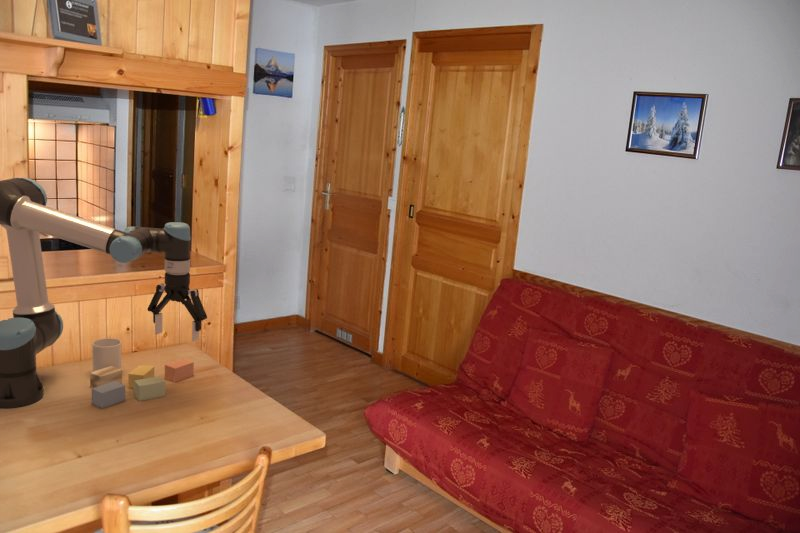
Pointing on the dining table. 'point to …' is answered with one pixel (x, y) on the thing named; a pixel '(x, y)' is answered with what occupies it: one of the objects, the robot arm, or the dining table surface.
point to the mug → (106, 353)
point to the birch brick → (105, 376)
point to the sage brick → (149, 388)
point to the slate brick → (108, 394)
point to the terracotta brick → (179, 370)
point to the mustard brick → (140, 374)
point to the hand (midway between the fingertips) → (176, 336)
